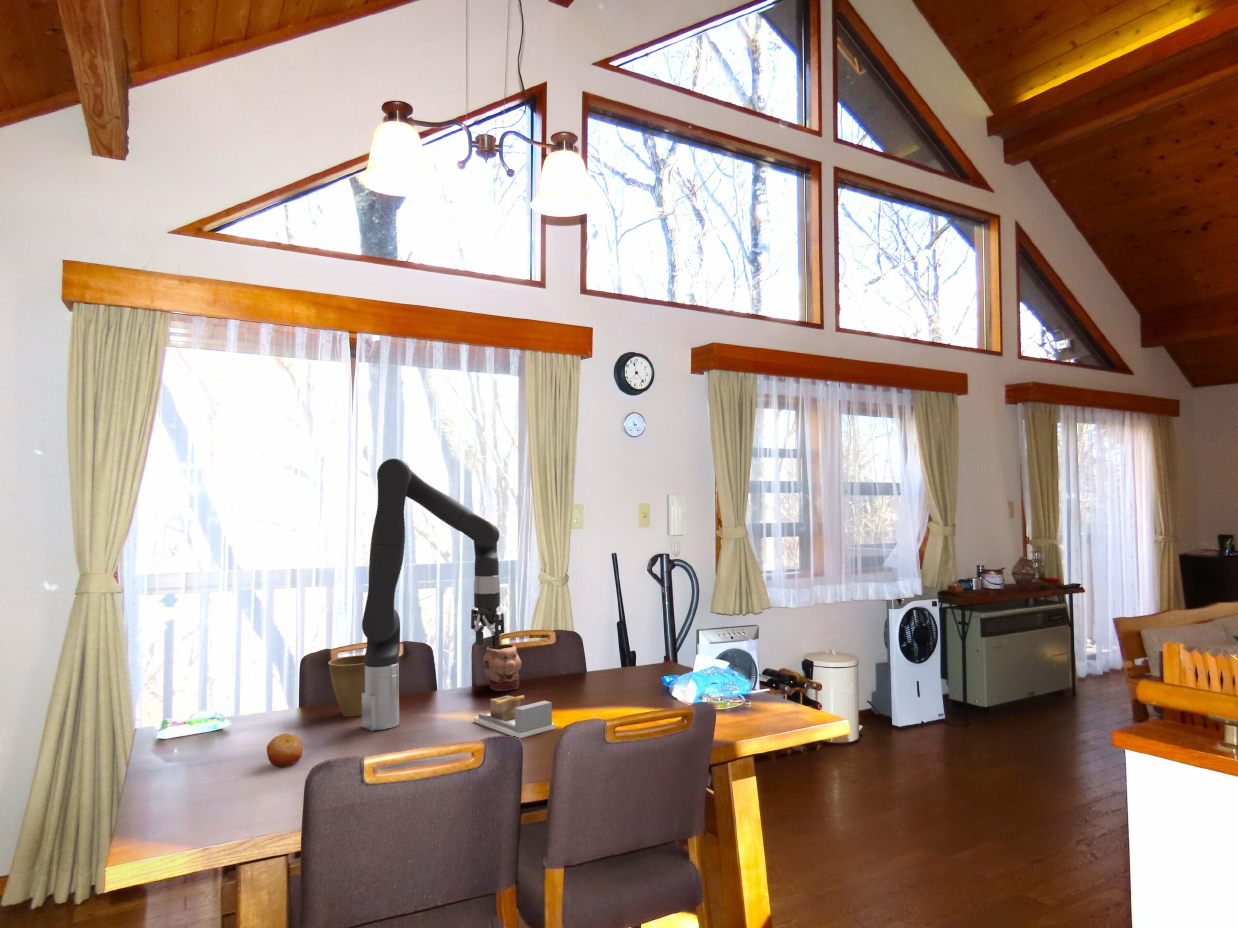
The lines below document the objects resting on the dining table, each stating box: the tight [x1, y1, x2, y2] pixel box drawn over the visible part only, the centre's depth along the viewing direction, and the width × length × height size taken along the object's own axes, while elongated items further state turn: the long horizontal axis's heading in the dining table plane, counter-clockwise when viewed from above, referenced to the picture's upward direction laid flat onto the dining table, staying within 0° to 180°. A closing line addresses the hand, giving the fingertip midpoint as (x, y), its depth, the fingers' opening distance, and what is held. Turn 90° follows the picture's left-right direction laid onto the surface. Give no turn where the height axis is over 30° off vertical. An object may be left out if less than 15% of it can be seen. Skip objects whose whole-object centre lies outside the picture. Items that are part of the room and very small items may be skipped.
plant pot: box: [328, 654, 365, 718], centre depth 228 cm, size 15×15×16 cm
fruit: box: [266, 733, 304, 769], centre depth 184 cm, size 8×8×8 cm
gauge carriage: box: [489, 695, 525, 721], centre depth 215 cm, size 9×6×6 cm, turn 132°
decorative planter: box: [482, 644, 522, 692], centre depth 256 cm, size 20×12×14 cm, turn 36°
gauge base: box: [473, 700, 556, 739], centre depth 212 cm, size 12×22×7 cm, turn 42°
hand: (487, 646), depth 222 cm, fingers open, 8 cm apart
